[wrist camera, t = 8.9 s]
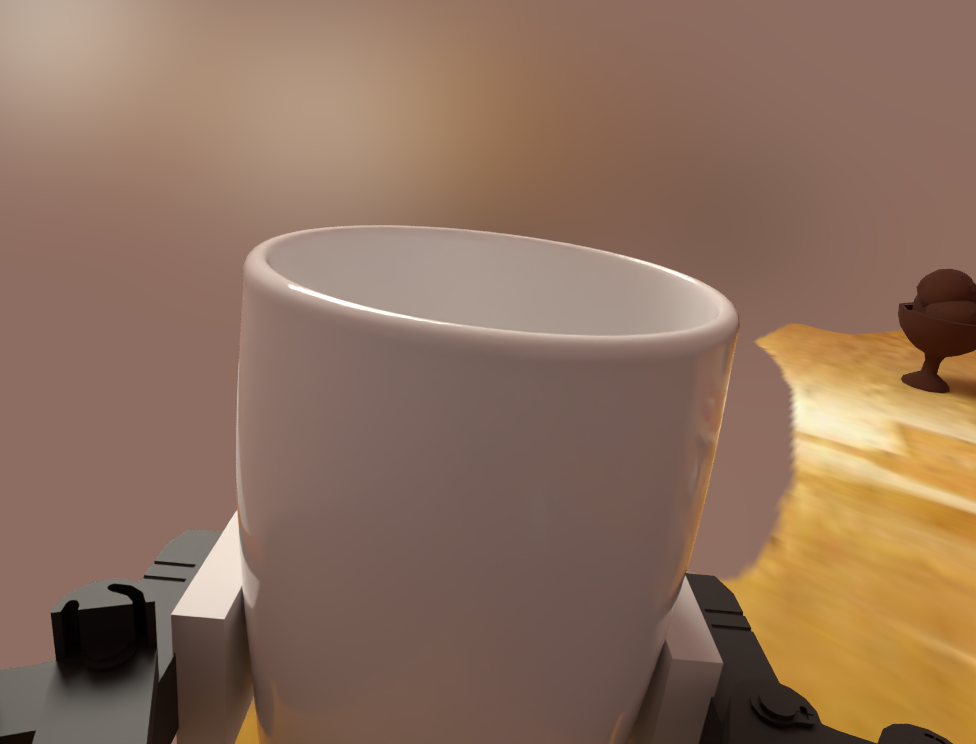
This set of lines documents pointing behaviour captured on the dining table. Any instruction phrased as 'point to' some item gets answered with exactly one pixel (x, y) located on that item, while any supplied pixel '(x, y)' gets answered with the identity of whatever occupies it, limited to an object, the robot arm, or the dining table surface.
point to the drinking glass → (467, 481)
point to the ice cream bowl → (940, 324)
